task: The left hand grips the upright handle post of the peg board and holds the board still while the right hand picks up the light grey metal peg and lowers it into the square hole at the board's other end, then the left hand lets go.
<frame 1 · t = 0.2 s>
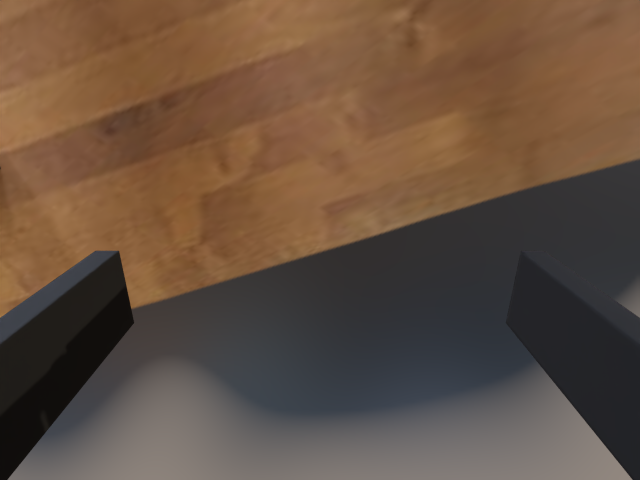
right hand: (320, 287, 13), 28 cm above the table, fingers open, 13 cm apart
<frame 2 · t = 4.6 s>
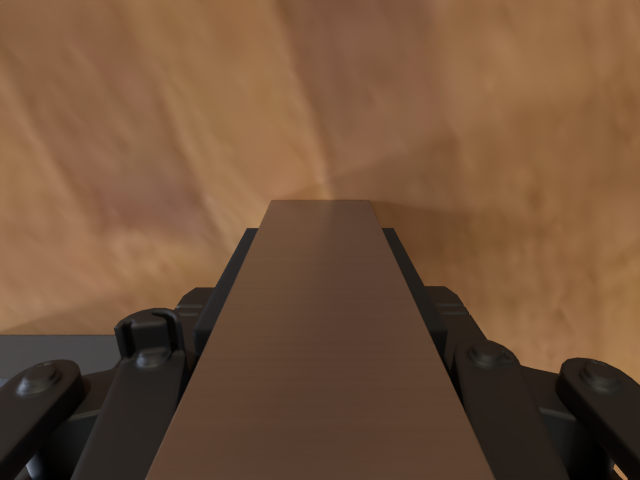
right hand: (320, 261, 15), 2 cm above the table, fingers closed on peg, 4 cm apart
peg: (320, 245, 16), on the table, touching right hand
when the right hand's fingers open (5 cm above the table, at t = 9.9 s): peg drops 3 cm, resting in peg board.
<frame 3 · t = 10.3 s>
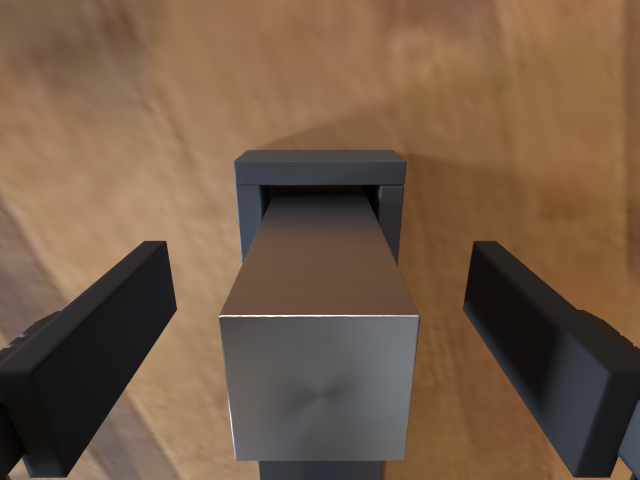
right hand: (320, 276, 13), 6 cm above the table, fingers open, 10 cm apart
peg: (319, 220, 19), resting in peg board
peg board: (320, 363, 23), on the table, touching left hand
when the left hand's fingers open (6 cm above the table, at t = 13.5 s): peg board stays where it is, on the table.
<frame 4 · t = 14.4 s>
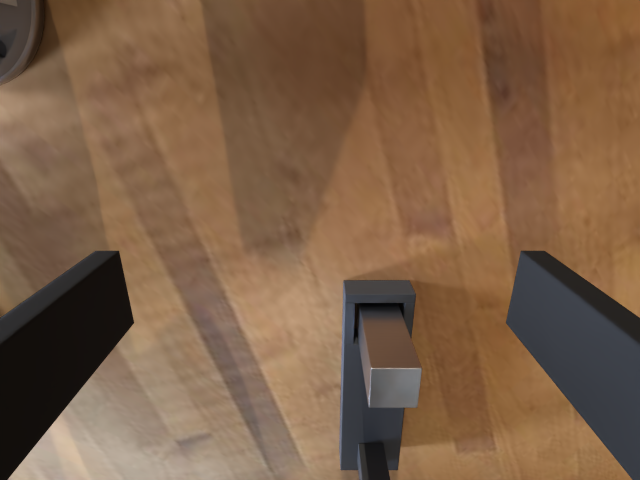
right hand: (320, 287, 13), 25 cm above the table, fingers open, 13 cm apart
peg: (374, 308, 41), resting in peg board
peg board: (370, 374, 45), on the table
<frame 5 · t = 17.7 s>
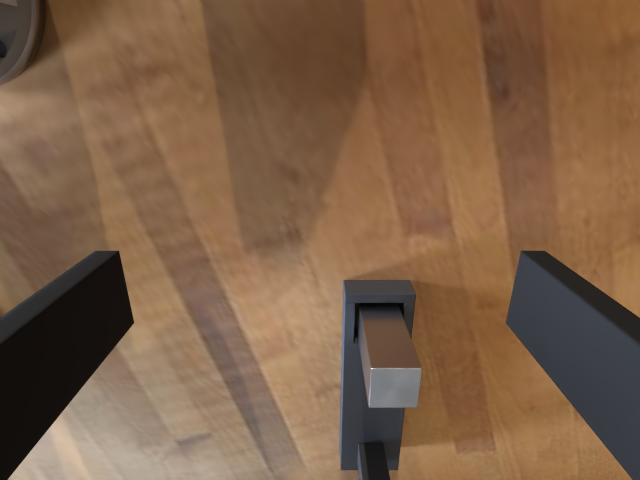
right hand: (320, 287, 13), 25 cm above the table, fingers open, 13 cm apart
peg: (374, 308, 41), resting in peg board
peg board: (370, 374, 45), on the table
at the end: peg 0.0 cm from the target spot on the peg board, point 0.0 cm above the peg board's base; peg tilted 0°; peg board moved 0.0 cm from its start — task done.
